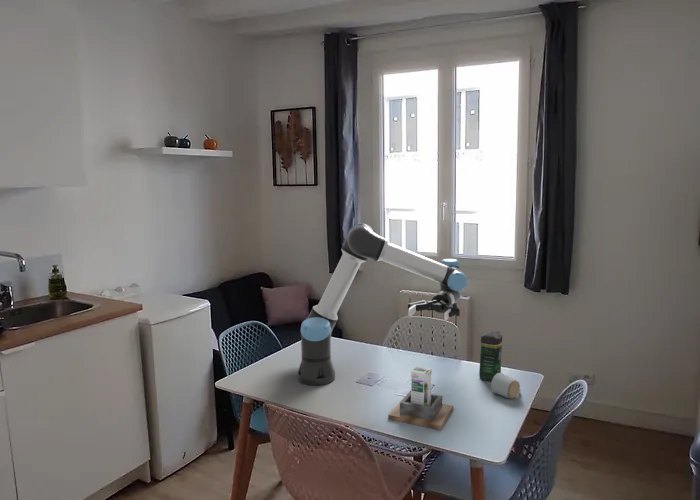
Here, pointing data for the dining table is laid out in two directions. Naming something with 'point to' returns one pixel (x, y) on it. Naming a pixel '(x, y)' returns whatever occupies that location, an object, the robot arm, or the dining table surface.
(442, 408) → the socket board
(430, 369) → the syrup box
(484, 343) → the coffee jar
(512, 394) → the ceramic mug
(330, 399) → the dining table surface
